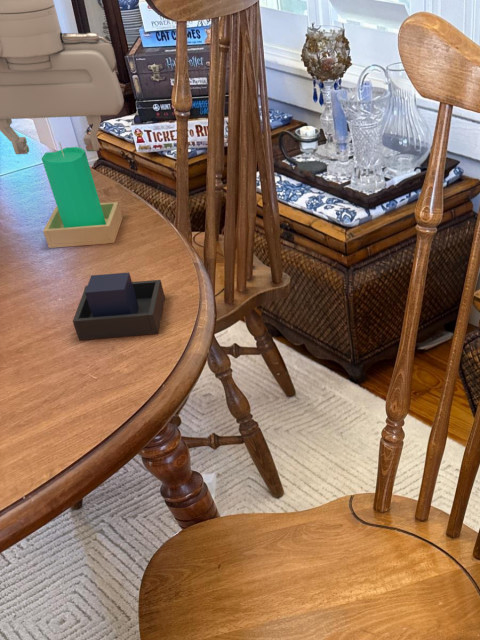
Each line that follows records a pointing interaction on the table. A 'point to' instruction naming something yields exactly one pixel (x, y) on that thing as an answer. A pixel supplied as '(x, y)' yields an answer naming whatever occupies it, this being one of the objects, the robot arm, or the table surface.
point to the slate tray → (123, 325)
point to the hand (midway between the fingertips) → (58, 151)
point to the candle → (73, 187)
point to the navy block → (111, 295)
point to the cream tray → (84, 229)
